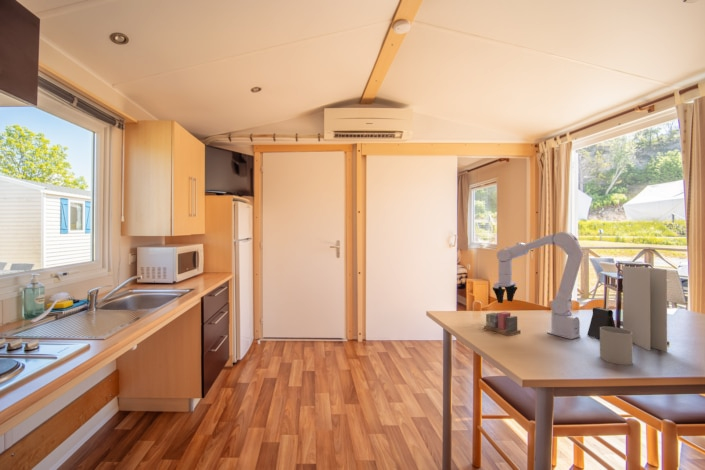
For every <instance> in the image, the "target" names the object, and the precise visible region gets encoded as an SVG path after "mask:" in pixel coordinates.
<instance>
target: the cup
mask: <svg viewBox="0 0 705 470" xmlns="http://www.w3.org/2000/svg"><path fill="white" fill-rule="evenodd" d="M615 327H616V326H615ZM615 327H600V339H599V358H600V359H601V360H604V361H606V362H609V363H613V364H616V365H624V366H625V365H626V366H628V365H629V366H630V365H632V364H633V343H632V332H631V331H628V330H625V329H623V328H620V327H616V328H615Z"/></svg>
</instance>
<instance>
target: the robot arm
mask: <svg viewBox="0 0 705 470" xmlns="http://www.w3.org/2000/svg"><path fill="white" fill-rule="evenodd" d="M547 245H550V246H551V245H552V246H553V245H555V246H557V247H558V248H560V249H562V250H563V251H564V252H565V254H566V255H567V258H566V263H565V266H564V269H563V273H562V277H561V280H560V284H559V287H558V290H557V293H556V294H555V298H554V299H553V300H552V301H551V302H550V309H551V313H550V314H551V317H550V318H551V329H550V330H549V331H547V332H546V333H547V334H549V335H554V336H557V337H562V338H566V339H568V340H573V339H576V338H579V337H581V334H580V333H581V332H580V327H581V325H580V319H579V317H578V316H574V315H573V313H572V311H571V309H572V308H573V302H572V297H573V291H574V288H575V284H576V281H577V277H578V273H579V270H580V267H581V263H582V260H583V257H584V251H583V249H582V247H581V245H580V243H579V239H578V238H577V237H576V236H575V235H574V234H572V233H571V232H568V231H559V232H557V233H551V234H548V235H544V236H542V237H540V238H537V239H535V240H533V241H530V242H527V243H524V242H516V243H515V245H512V246H506V247H505V249H504V248H501V249H500V250H498V251H497V253H496V257H497V260H498V268H497V269H498V281H496V283H493V287H492V290H493V292H494V294H495V297H496V301H497V303H498V304H503V303H504V295H505V292H506V300H507V302H513V300H514V296H515V294H516V291H517V290H518V286H517V282H516V281H513V280H512V276H513V275H512V270H513V267H512V260H513V259H517V258H520V257H522V256H525V255H528V253H530V252H529V251H530V250H534V249H538V248H540V247H544V246H547Z"/></svg>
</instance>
